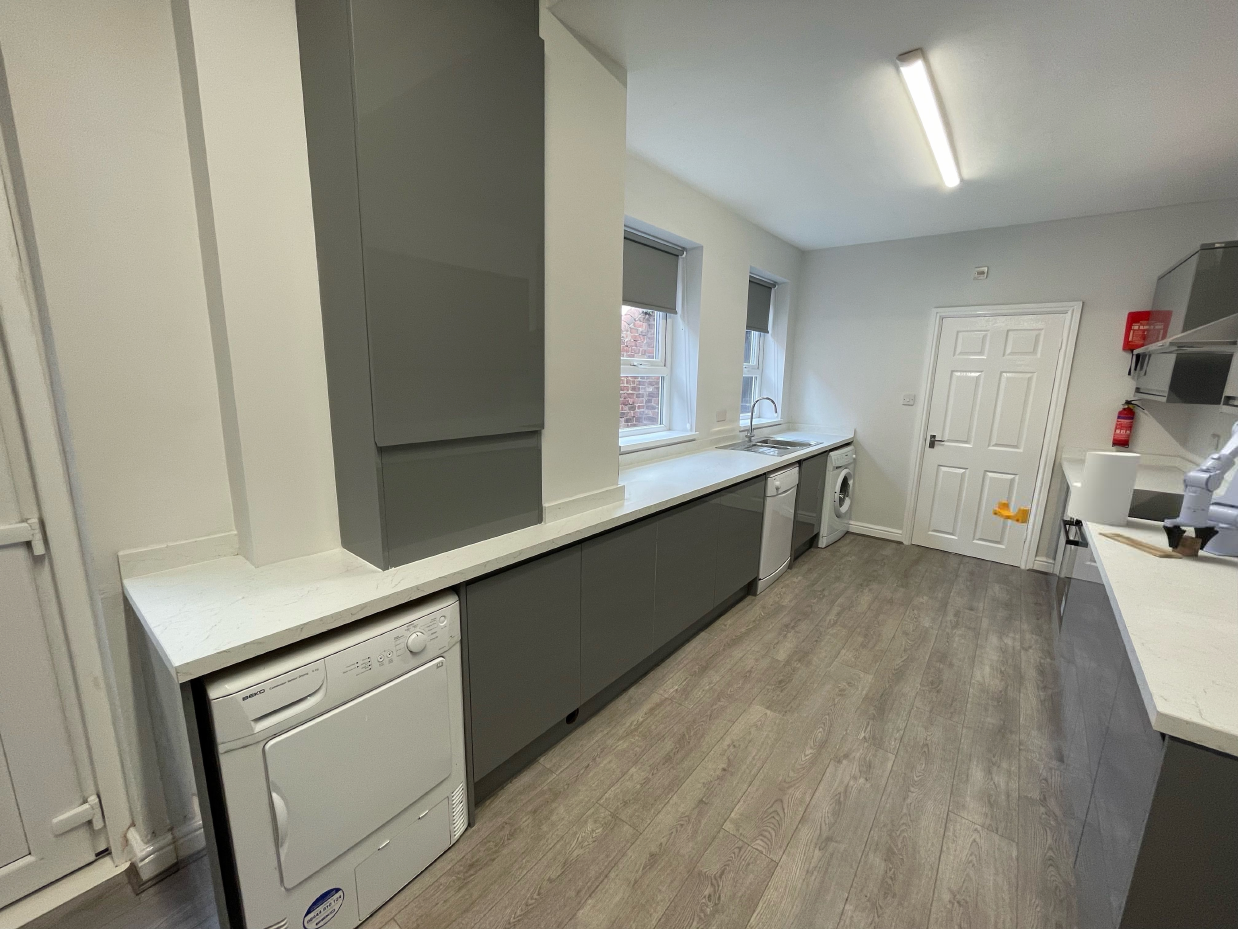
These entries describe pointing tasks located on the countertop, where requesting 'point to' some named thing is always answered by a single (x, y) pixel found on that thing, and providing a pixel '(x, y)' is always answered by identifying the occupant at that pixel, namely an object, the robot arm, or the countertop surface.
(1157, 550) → the oak board
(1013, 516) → the mounting bracket
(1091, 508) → the cylinder
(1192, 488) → the robot arm
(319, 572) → the countertop surface
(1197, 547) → the block
